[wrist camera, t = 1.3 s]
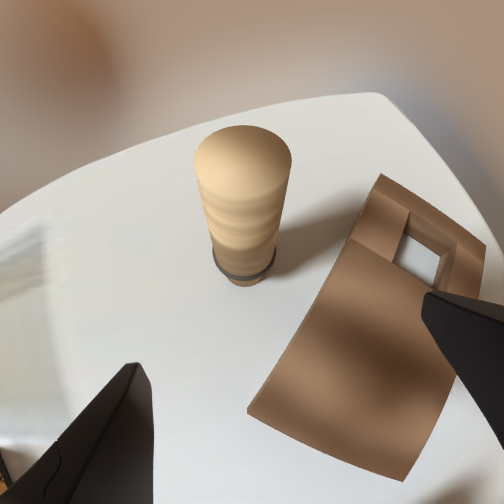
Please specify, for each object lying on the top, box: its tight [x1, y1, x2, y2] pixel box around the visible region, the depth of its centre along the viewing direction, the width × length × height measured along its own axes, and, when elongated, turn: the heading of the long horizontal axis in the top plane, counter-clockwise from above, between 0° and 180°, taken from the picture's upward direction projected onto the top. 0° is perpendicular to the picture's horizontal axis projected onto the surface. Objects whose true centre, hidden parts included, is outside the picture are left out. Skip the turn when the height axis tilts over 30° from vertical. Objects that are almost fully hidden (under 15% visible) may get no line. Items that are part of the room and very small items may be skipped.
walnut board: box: [247, 174, 486, 482], centre depth 20 cm, size 22×13×3 cm, turn 148°
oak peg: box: [194, 125, 292, 287], centre depth 17 cm, size 4×4×12 cm
